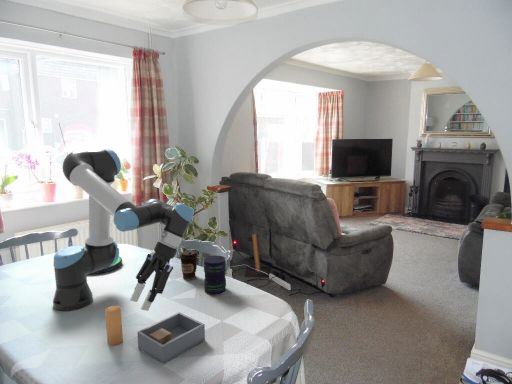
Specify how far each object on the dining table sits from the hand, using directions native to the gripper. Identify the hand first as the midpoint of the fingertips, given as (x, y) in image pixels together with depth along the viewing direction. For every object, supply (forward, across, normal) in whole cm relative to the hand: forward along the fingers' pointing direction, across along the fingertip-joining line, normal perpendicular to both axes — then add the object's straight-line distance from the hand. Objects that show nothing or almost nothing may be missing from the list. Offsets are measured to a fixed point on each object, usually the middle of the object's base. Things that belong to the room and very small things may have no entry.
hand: (138, 305), depth 131 cm
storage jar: (-11, -10, +44) cm, 46 cm away
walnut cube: (+8, +14, +5) cm, 17 cm away
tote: (+7, +13, +10) cm, 18 cm away
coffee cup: (-9, -30, +45) cm, 55 cm away
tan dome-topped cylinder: (+14, -2, -1) cm, 15 cm away
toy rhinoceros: (-6, -56, +44) cm, 72 cm away
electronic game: (+7, -77, +26) cm, 81 cm away
